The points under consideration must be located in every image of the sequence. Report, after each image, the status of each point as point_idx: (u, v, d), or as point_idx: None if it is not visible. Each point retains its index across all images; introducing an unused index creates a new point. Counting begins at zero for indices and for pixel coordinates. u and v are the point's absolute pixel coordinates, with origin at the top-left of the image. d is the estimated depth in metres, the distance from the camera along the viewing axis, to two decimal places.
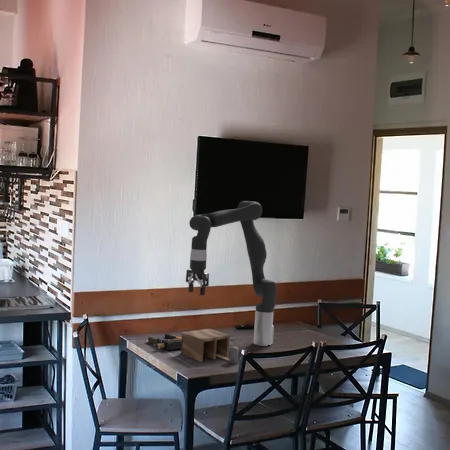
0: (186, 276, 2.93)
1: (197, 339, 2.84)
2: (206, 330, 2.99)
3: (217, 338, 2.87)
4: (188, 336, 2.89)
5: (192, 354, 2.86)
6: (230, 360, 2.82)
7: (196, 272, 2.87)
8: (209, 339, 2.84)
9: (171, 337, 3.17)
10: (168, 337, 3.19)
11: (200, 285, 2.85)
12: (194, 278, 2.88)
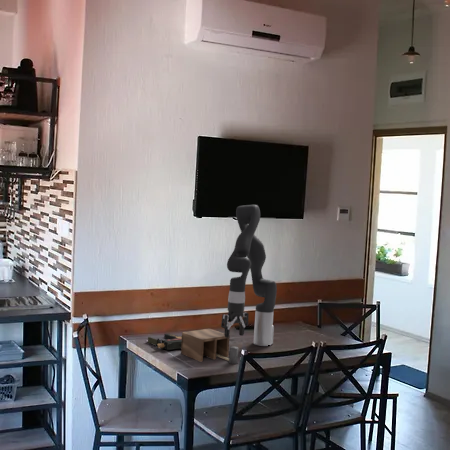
0: (225, 322, 2.77)
1: (197, 339, 2.84)
2: (206, 330, 2.99)
3: (217, 338, 2.87)
4: (188, 336, 2.89)
5: (192, 354, 2.86)
6: (230, 360, 2.82)
7: (238, 314, 2.81)
8: (209, 339, 2.84)
9: (171, 337, 3.17)
10: (168, 337, 3.19)
11: (243, 326, 2.84)
12: (235, 321, 2.81)
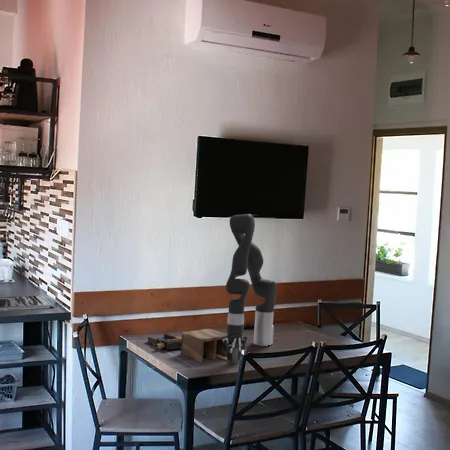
0: (226, 347, 2.78)
1: (197, 339, 2.84)
2: (206, 330, 2.99)
3: (217, 338, 2.87)
4: (188, 336, 2.89)
5: (192, 354, 2.86)
6: None
7: (237, 336, 2.82)
8: (209, 339, 2.84)
9: (170, 337, 3.17)
10: (167, 337, 3.19)
11: (239, 349, 2.84)
12: None
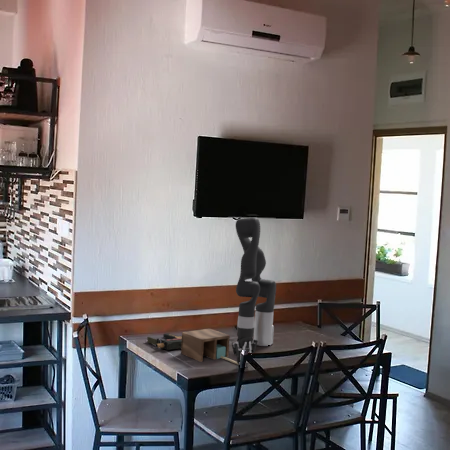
0: (237, 350, 2.73)
1: (197, 339, 2.84)
2: (206, 330, 2.99)
3: (217, 338, 2.87)
4: (188, 336, 2.89)
5: (192, 354, 2.86)
6: None
7: (247, 339, 2.77)
8: (209, 339, 2.84)
9: (170, 337, 3.17)
10: (167, 337, 3.19)
11: None
12: (245, 346, 2.76)
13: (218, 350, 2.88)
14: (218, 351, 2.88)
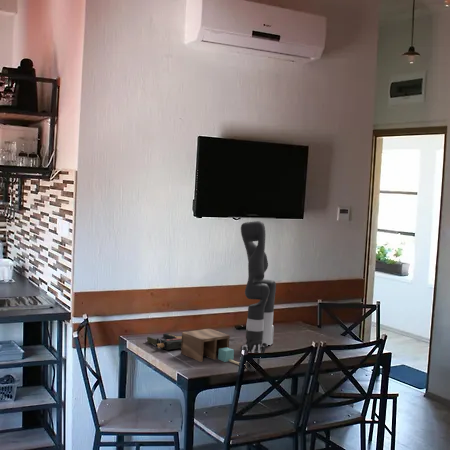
0: None
1: (197, 339, 2.84)
2: (206, 330, 2.99)
3: (217, 338, 2.87)
4: (188, 336, 2.89)
5: (192, 354, 2.86)
6: None
7: (256, 342, 2.72)
8: (209, 339, 2.84)
9: (170, 337, 3.17)
10: (167, 337, 3.19)
11: None
12: (254, 350, 2.72)
13: (226, 353, 2.84)
14: (226, 354, 2.84)
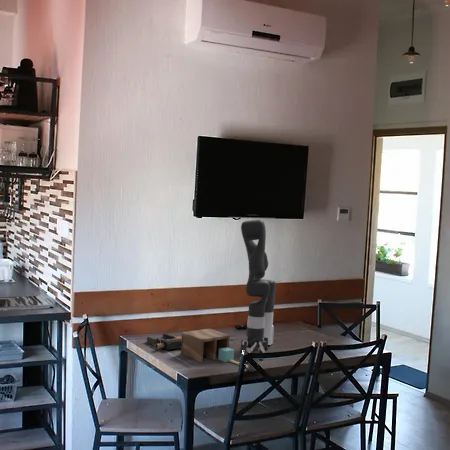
0: (245, 349, 2.68)
1: (197, 339, 2.84)
2: (206, 330, 2.99)
3: (217, 338, 2.87)
4: (188, 336, 2.89)
5: (192, 354, 2.86)
6: (249, 367, 2.72)
7: (257, 340, 2.72)
8: (209, 339, 2.84)
9: (169, 337, 3.17)
10: (166, 337, 3.19)
11: (262, 351, 2.75)
12: (255, 347, 2.72)
13: (226, 353, 2.84)
14: (226, 354, 2.84)
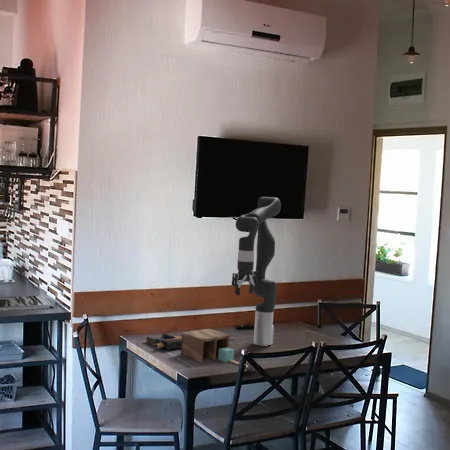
0: (236, 280, 2.84)
1: (197, 339, 2.84)
2: (206, 330, 2.99)
3: (217, 338, 2.87)
4: (188, 336, 2.89)
5: (192, 354, 2.86)
6: (249, 367, 2.72)
7: (247, 273, 2.89)
8: (209, 339, 2.84)
9: (169, 337, 3.17)
10: (166, 337, 3.20)
11: (252, 284, 2.92)
12: (245, 279, 2.88)
13: (226, 353, 2.84)
14: (226, 354, 2.84)
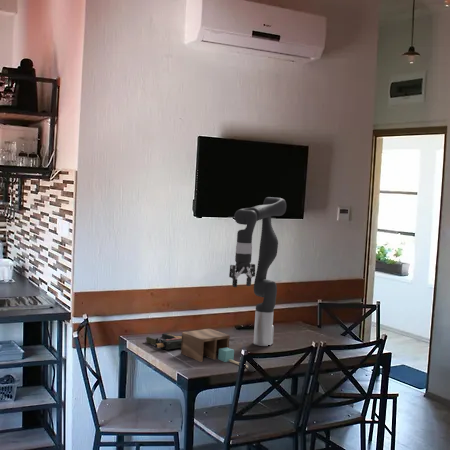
0: (233, 272, 2.88)
1: (197, 339, 2.84)
2: (206, 330, 2.99)
3: (217, 338, 2.87)
4: (188, 336, 2.89)
5: (192, 354, 2.86)
6: (249, 367, 2.72)
7: (245, 265, 2.92)
8: (209, 339, 2.84)
9: (169, 337, 3.17)
10: (165, 337, 3.20)
11: (250, 276, 2.95)
12: (242, 271, 2.92)
13: (226, 353, 2.84)
14: (226, 354, 2.84)
